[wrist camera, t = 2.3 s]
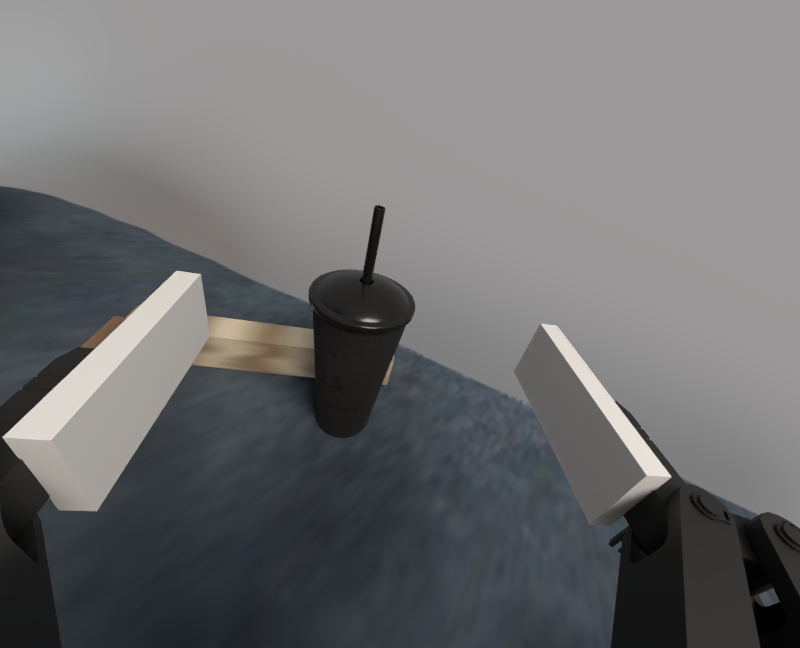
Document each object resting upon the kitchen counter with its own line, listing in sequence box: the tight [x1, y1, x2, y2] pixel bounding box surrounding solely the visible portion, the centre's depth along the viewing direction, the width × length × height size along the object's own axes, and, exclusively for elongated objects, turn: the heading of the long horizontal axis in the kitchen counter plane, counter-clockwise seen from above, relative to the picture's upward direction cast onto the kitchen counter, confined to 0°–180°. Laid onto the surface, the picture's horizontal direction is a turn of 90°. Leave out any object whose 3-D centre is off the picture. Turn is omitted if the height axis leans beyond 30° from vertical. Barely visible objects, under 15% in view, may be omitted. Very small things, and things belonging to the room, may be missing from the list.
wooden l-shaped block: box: [81, 307, 394, 385], centre depth 29 cm, size 25×15×5 cm, turn 93°
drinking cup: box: [309, 205, 415, 438], centre depth 26 cm, size 8×8×20 cm
